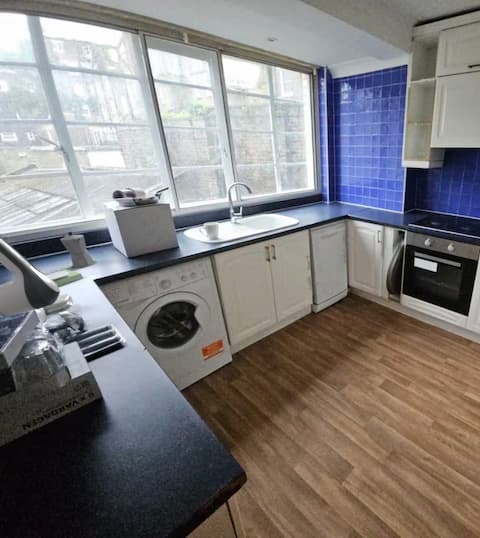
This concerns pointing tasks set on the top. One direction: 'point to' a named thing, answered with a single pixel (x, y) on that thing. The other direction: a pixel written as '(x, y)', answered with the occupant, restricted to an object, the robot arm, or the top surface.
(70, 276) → the scale
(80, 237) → the coffeepot
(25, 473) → the top surface
